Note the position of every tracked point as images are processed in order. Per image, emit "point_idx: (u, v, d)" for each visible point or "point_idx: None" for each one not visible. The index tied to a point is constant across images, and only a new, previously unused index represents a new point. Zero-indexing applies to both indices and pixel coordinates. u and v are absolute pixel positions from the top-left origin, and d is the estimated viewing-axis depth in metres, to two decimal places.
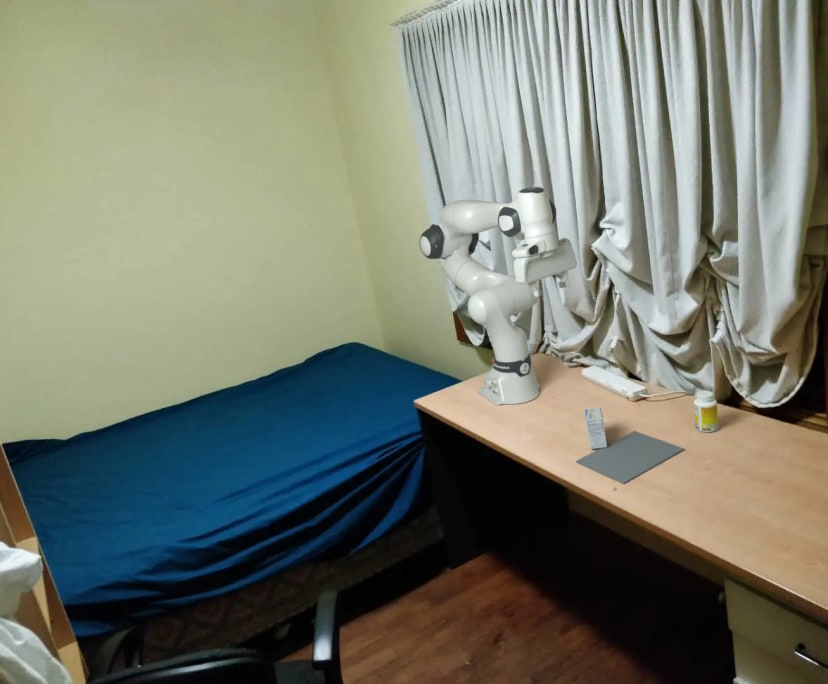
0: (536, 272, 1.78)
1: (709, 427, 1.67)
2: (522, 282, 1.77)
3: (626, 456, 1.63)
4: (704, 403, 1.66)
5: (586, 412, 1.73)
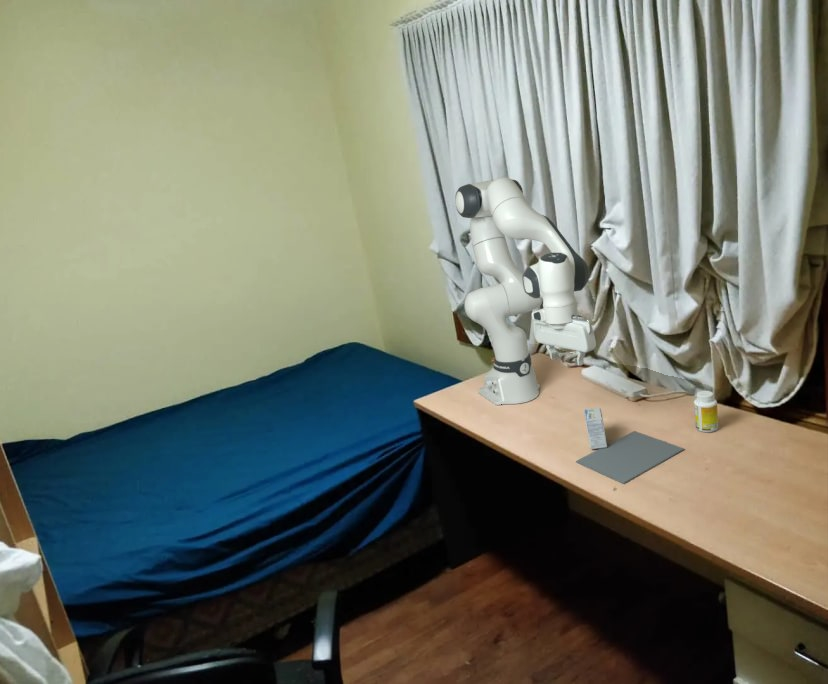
0: (545, 336, 1.76)
1: (709, 427, 1.67)
2: None
3: (626, 456, 1.63)
4: (704, 403, 1.66)
5: (586, 412, 1.73)
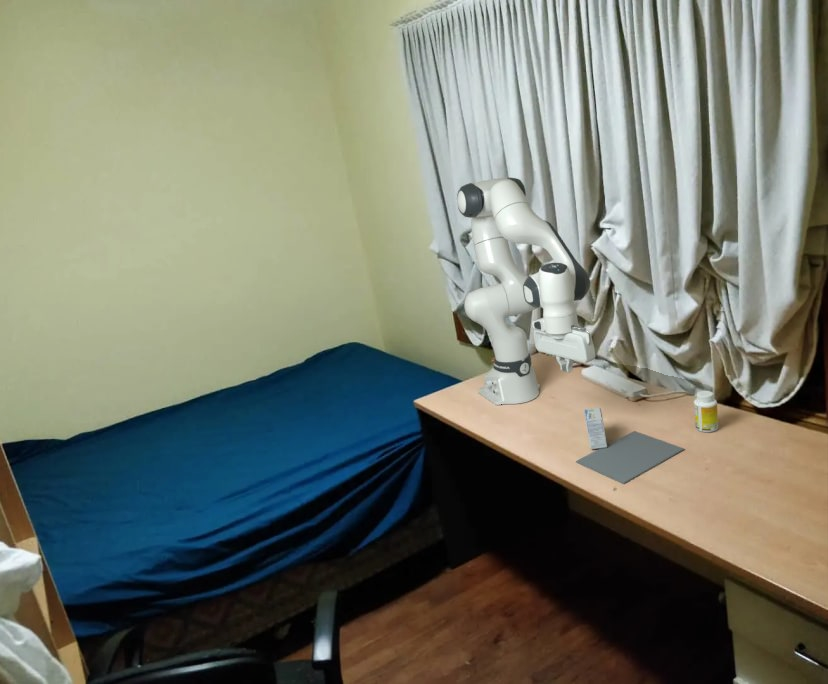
0: (545, 345, 1.76)
1: (709, 427, 1.67)
2: None
3: (626, 456, 1.63)
4: (704, 403, 1.66)
5: (586, 412, 1.73)
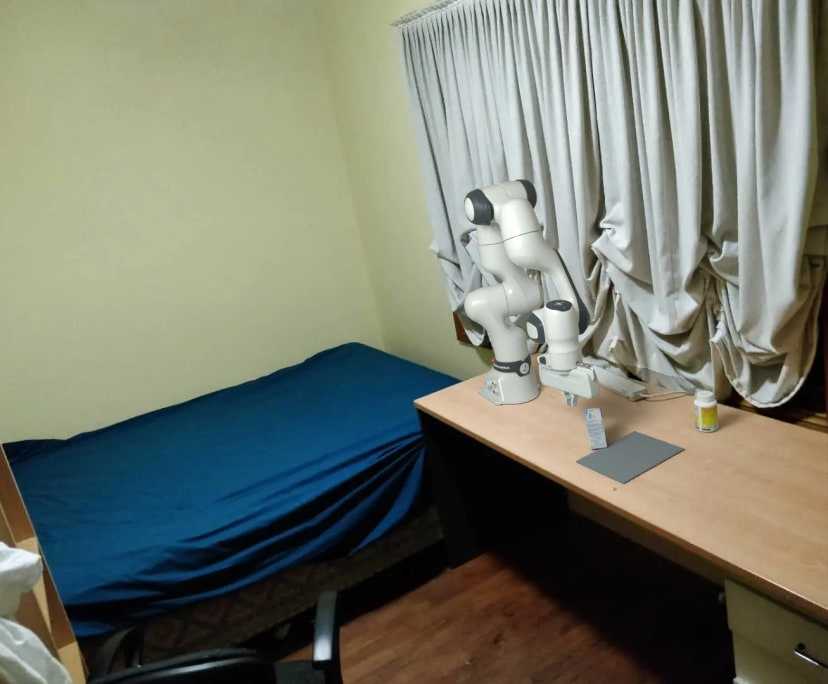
0: (550, 380, 1.79)
1: (709, 427, 1.67)
2: None
3: (626, 456, 1.63)
4: (704, 403, 1.66)
5: (586, 412, 1.73)
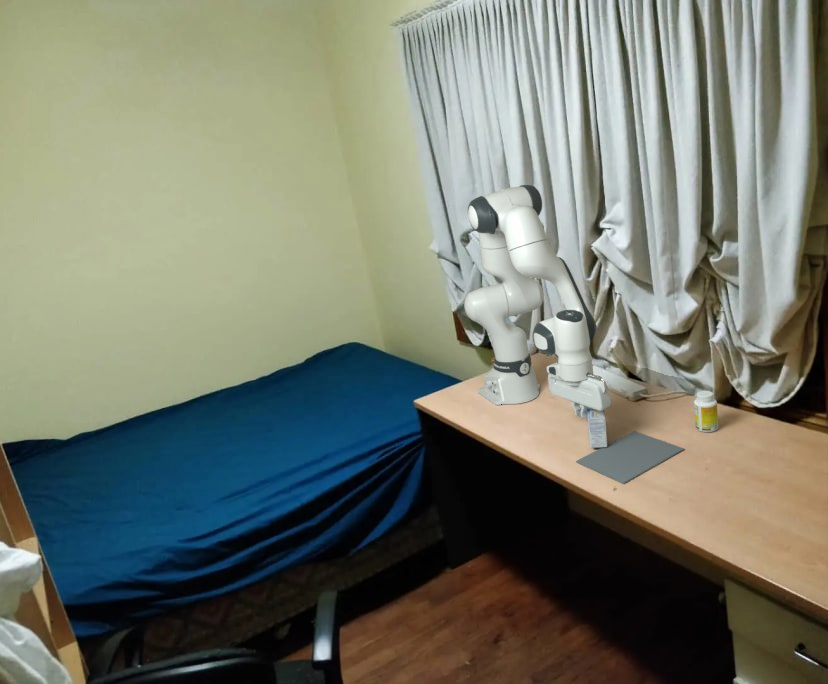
0: (560, 390, 1.77)
1: (709, 427, 1.67)
2: None
3: (626, 456, 1.63)
4: (704, 403, 1.66)
5: (588, 411, 1.73)
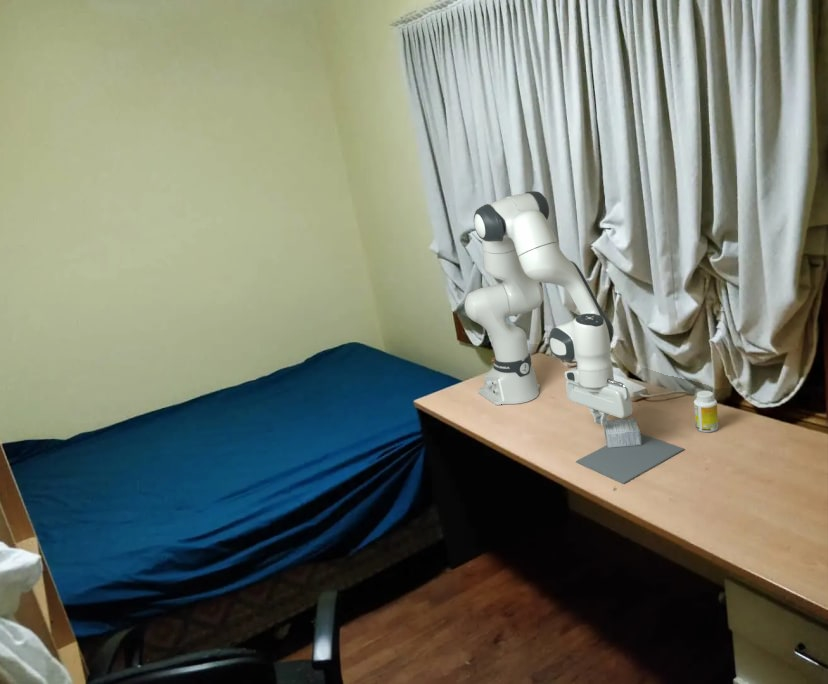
0: (578, 396, 1.71)
1: (709, 427, 1.67)
2: None
3: (626, 456, 1.63)
4: (704, 403, 1.66)
5: None
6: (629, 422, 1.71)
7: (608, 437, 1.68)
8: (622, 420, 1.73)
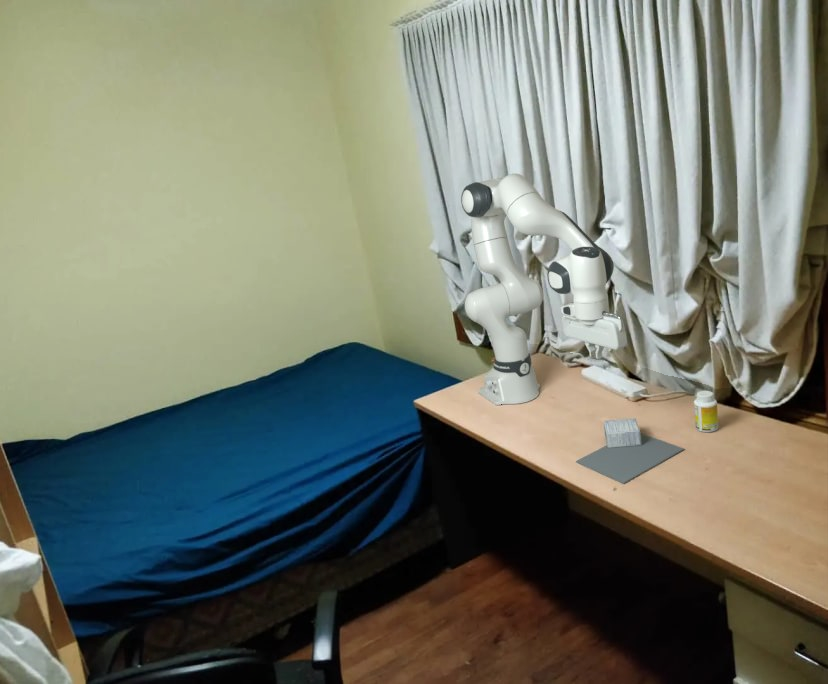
0: (574, 331, 1.73)
1: (709, 427, 1.67)
2: None
3: (626, 456, 1.63)
4: (704, 403, 1.66)
5: None
6: (629, 422, 1.71)
7: (608, 437, 1.68)
8: (622, 420, 1.73)
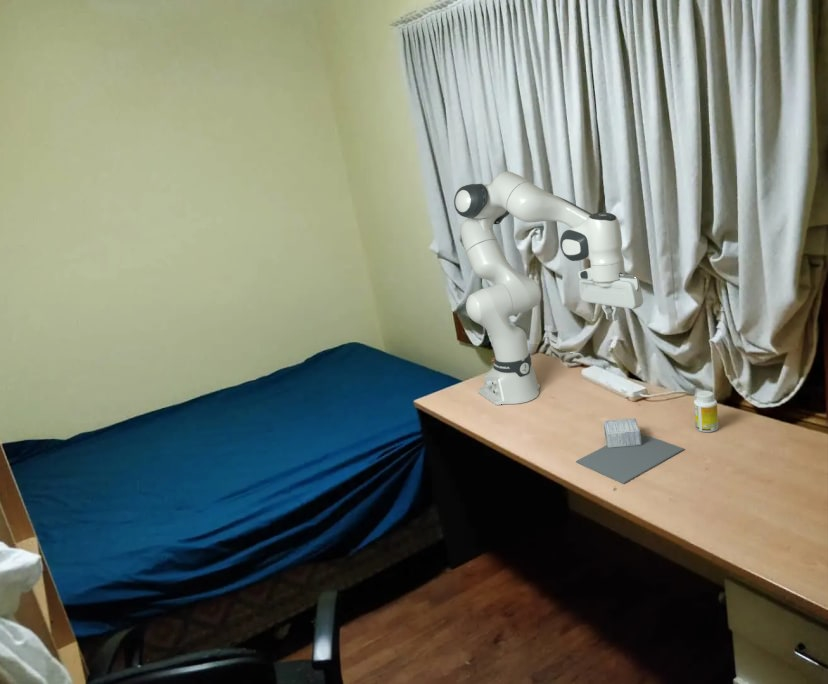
0: (591, 295, 1.81)
1: (709, 427, 1.67)
2: None
3: (626, 456, 1.63)
4: (704, 403, 1.66)
5: None
6: (629, 422, 1.71)
7: (608, 437, 1.68)
8: (622, 420, 1.73)
